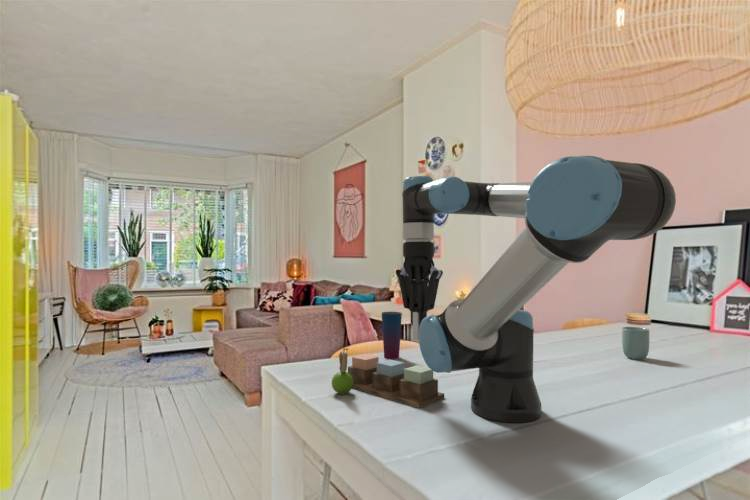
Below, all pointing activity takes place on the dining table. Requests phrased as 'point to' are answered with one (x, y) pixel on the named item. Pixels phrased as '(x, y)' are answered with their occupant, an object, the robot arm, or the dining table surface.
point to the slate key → (390, 368)
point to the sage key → (418, 374)
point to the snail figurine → (342, 376)
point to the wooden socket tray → (395, 387)
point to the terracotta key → (364, 362)
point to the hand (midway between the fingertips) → (418, 338)
